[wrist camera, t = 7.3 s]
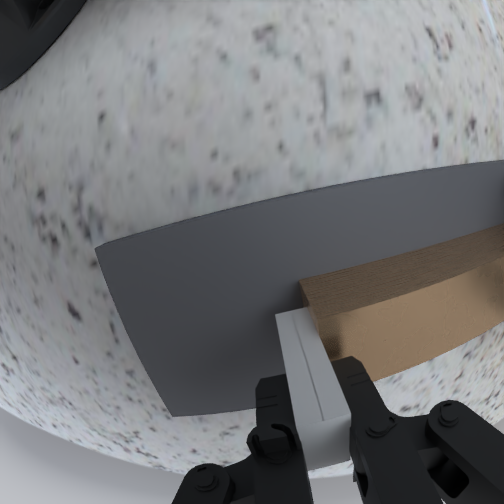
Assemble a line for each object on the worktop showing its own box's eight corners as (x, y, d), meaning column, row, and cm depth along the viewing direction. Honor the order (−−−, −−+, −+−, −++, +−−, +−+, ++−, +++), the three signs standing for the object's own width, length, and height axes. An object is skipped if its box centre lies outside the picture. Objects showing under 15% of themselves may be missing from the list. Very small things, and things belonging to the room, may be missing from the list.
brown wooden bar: (310, 346, 14) (326, 395, 11) (298, 279, 13) (317, 319, 10) (541, 255, 13) (572, 269, 10) (543, 209, 12) (577, 218, 9)
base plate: (175, 405, 17) (172, 416, 16) (104, 243, 14) (94, 248, 13) (559, 267, 15) (566, 270, 14) (560, 156, 12) (568, 156, 11)
